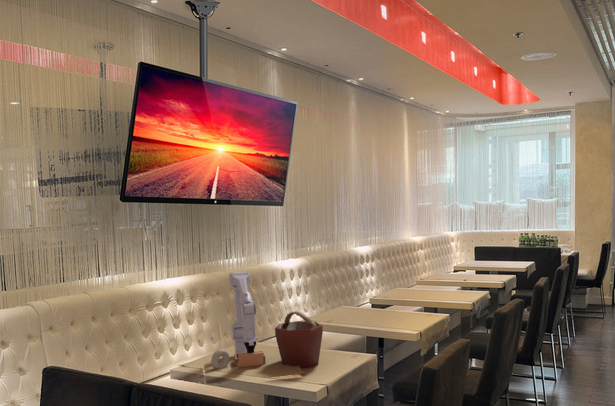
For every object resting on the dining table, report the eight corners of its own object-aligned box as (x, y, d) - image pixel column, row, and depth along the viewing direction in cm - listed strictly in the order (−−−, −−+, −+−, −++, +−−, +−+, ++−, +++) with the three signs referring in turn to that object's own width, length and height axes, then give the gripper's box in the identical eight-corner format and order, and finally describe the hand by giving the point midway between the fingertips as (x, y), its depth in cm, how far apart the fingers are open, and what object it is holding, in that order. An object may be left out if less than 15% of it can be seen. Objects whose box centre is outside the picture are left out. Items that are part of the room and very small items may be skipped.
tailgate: (238, 367, 276) (237, 354, 274) (263, 364, 278) (263, 351, 276) (238, 368, 275) (238, 355, 273) (263, 365, 277) (263, 352, 275)
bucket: (329, 368, 271) (326, 314, 271) (283, 374, 265) (280, 318, 265) (314, 356, 295) (311, 306, 295) (271, 361, 289) (268, 310, 289)
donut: (214, 373, 272) (213, 351, 272) (210, 372, 274) (209, 351, 274) (231, 368, 279) (230, 347, 279) (226, 367, 281) (225, 346, 281)
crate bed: (234, 364, 287) (233, 353, 287) (262, 361, 289) (262, 351, 290) (236, 369, 276) (235, 359, 276) (265, 366, 279) (265, 356, 279)
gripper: (259, 330, 270) (261, 360, 270) (256, 325, 284) (257, 353, 284) (244, 332, 268) (245, 361, 268) (241, 326, 283) (242, 354, 282)
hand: (250, 357), depth 276 cm, fingers closed, pressing on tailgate
